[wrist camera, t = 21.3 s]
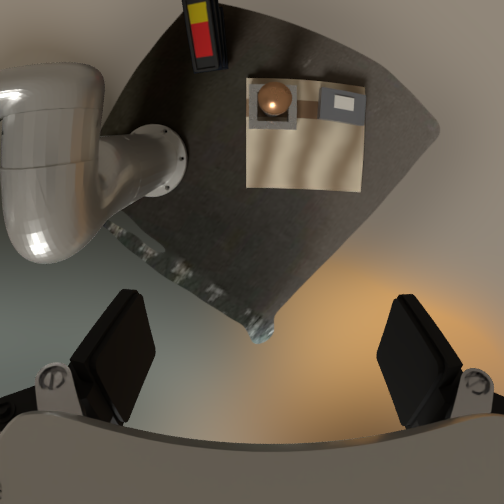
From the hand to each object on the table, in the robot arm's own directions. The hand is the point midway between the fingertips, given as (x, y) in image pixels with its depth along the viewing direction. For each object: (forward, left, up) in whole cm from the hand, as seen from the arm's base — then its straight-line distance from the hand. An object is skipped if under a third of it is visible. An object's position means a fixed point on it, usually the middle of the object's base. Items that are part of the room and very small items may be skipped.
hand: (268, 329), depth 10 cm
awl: (+1, +11, -37) cm, 39 cm away
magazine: (-8, +22, -39) cm, 45 cm away
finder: (+11, +12, -37) cm, 41 cm away
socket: (+1, +11, -37) cm, 39 cm away
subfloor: (+6, +7, -38) cm, 39 cm away
